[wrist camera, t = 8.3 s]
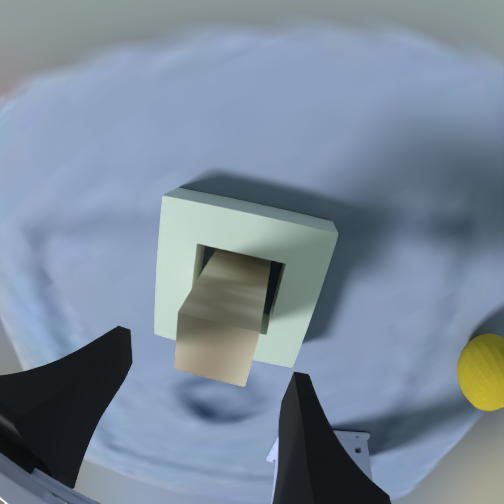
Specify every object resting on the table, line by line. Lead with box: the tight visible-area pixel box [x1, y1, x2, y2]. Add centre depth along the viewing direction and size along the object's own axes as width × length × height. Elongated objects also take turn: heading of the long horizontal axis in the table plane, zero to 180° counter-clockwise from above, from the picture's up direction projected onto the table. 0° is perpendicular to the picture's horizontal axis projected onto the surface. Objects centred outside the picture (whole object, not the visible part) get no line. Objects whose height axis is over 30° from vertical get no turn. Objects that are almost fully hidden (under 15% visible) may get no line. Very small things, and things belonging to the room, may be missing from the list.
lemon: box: [457, 334, 504, 411], centre depth 17 cm, size 6×6×8 cm
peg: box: [175, 248, 271, 387], centre depth 17 cm, size 4×4×8 cm
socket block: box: [154, 188, 339, 368], centre depth 19 cm, size 10×10×2 cm
